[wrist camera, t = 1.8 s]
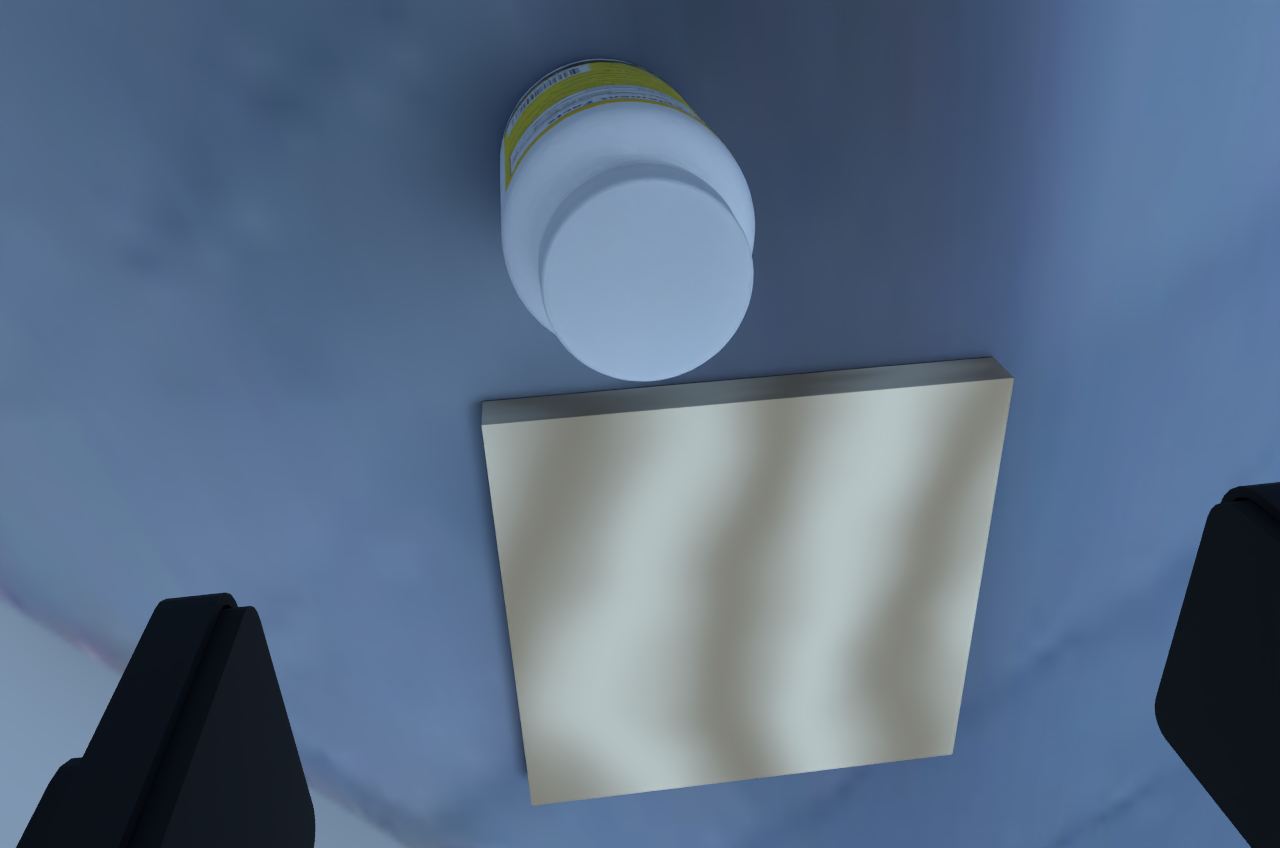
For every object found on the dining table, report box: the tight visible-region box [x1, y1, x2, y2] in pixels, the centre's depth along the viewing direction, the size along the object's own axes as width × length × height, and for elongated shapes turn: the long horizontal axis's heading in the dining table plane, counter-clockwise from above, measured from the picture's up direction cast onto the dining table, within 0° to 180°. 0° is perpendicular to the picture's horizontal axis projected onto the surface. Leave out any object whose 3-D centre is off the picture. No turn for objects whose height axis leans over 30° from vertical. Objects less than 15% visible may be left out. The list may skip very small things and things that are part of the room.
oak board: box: [482, 357, 1014, 806], centre depth 33 cm, size 16×16×2 cm
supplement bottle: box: [500, 59, 755, 381], centre depth 22 cm, size 5×5×10 cm
